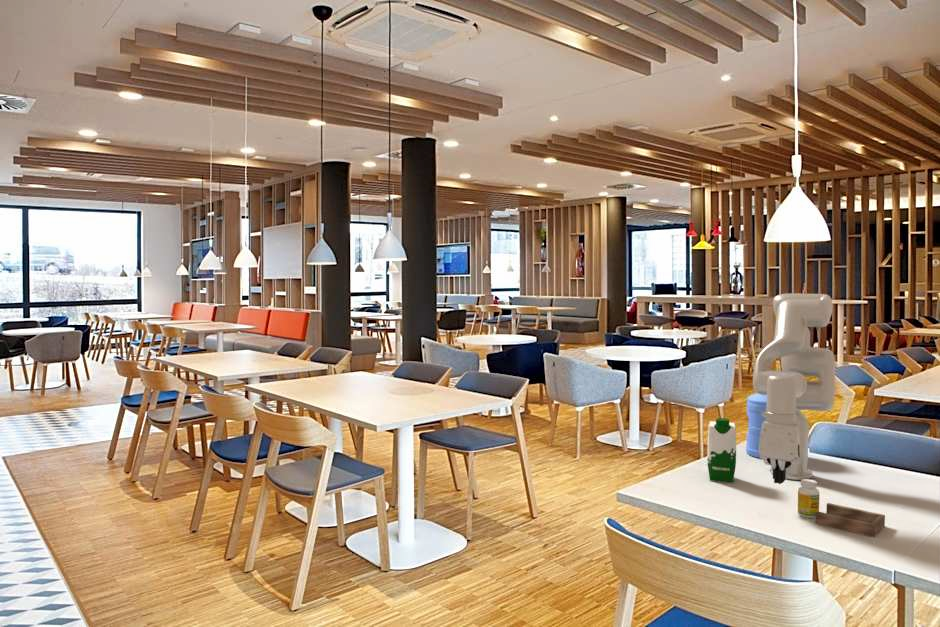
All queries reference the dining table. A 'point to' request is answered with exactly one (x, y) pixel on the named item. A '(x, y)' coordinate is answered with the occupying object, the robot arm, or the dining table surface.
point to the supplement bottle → (808, 498)
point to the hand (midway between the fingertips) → (779, 482)
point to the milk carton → (721, 450)
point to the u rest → (851, 519)
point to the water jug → (755, 422)
